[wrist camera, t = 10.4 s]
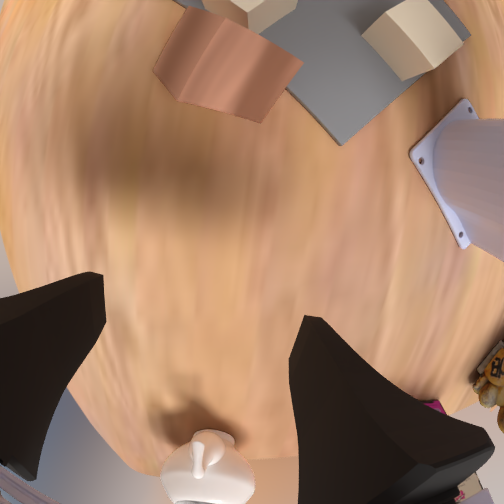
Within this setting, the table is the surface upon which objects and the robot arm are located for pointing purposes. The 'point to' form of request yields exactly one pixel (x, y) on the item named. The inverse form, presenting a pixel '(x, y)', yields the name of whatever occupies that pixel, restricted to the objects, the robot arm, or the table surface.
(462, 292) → the table surface
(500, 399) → the decorative figurine
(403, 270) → the table surface
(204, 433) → the teapot
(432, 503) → the robot arm
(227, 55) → the terracotta block
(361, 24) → the puzzle board
